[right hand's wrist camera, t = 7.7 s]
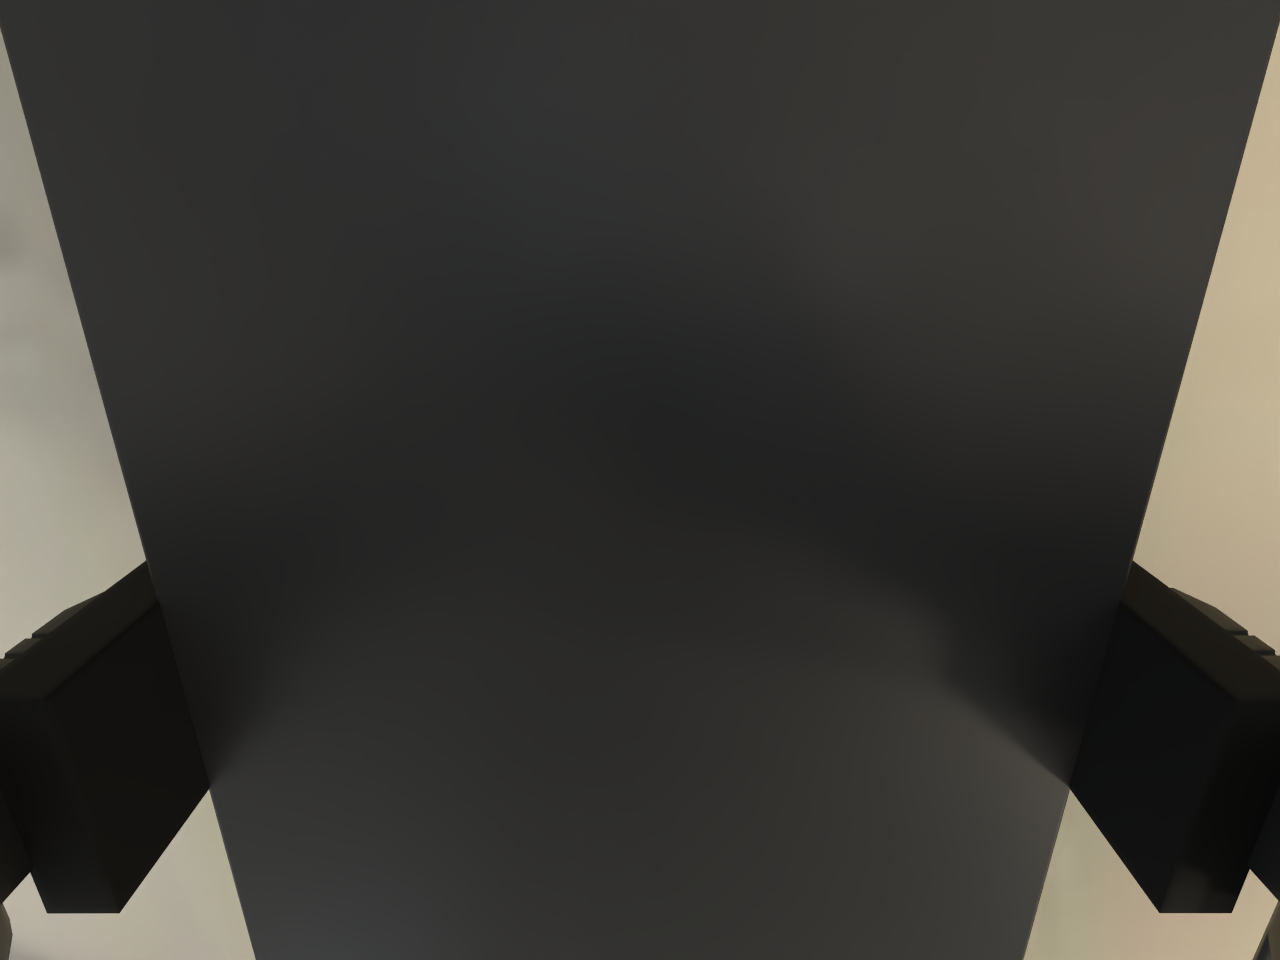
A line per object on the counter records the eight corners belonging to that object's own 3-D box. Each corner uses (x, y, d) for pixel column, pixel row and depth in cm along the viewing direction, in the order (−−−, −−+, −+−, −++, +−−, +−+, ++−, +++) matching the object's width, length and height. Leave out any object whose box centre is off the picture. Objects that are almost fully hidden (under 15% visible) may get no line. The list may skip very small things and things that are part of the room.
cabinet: (301, -192, 12) (-233, -802, 5) (977, -192, 12) (1510, -799, 5) (414, 659, 18) (259, 980, 11) (865, 659, 18) (1019, 980, 11)
